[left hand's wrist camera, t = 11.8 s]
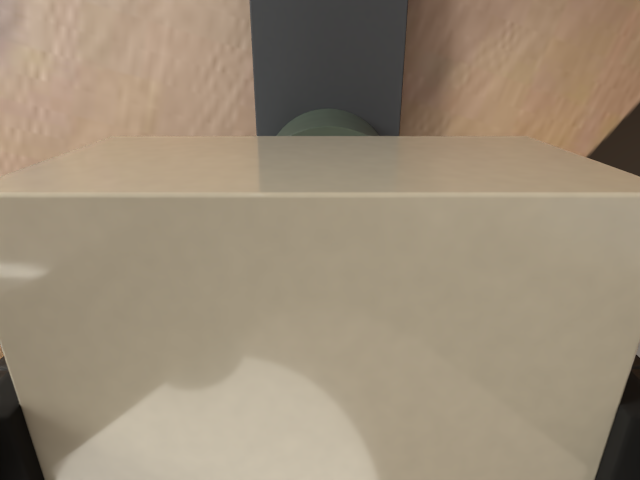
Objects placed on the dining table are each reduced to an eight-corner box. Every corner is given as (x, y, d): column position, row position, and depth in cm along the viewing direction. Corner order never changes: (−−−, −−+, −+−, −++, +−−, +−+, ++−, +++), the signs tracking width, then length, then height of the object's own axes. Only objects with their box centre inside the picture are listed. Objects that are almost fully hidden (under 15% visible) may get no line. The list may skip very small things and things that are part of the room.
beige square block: (473, 448, 14) (547, 633, 10) (166, 448, 14) (92, 633, 10) (528, 135, 11) (690, 193, 6) (111, 135, 11) (-52, 193, 6)
